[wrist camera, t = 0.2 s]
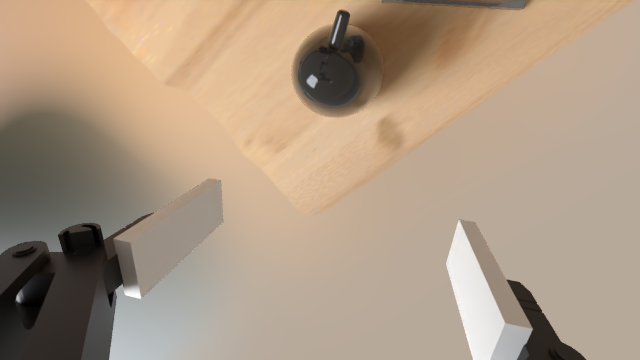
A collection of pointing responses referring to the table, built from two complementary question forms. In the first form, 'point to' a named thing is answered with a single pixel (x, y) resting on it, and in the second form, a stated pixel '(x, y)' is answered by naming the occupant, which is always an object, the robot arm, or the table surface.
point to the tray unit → (468, 3)
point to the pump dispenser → (337, 69)
